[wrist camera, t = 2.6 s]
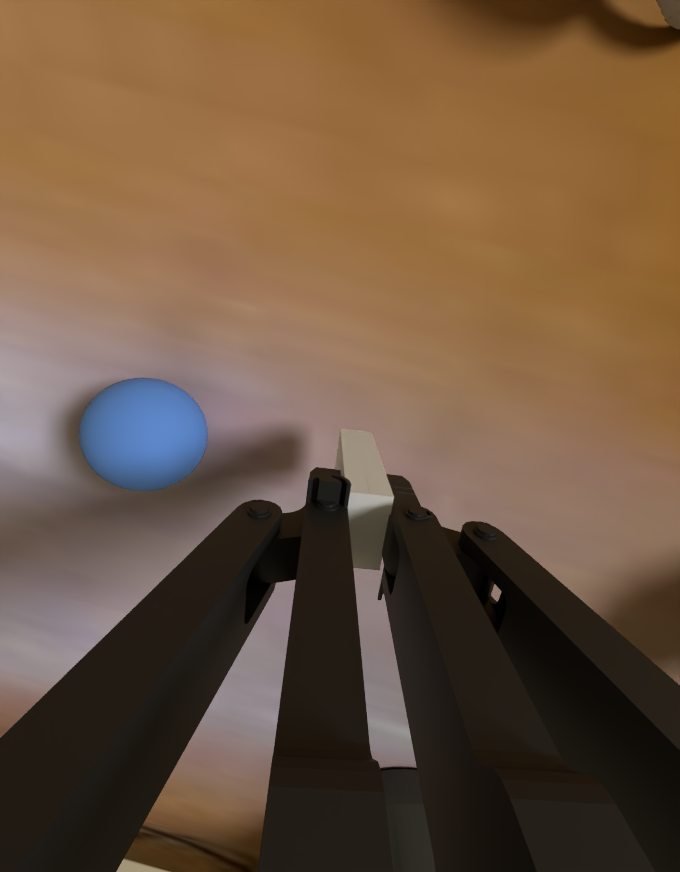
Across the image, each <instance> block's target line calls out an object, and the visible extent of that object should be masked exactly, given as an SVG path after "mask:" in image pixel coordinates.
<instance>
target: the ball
mask: <svg viewBox="0 0 680 872" xmlns="http://www.w3.org/2000/svg"><path fill="white" fill-rule="evenodd" d="M207 437H208V435H207V425H206V420H205V417H204V415H203V413H202V410H201V409H200V407H199V406H198V404H197V403H196V402H195V400H194V399H193V398H192V397H191V396H190V395H189V394H188V393H186V392H185V391H184V390H182V389H181V388H179V387H177V386H175V385H173V384H171V383H169V382H166V381H162V380H158V379H152V378H134V379H128V380H124V381H121V382H118V383H115V384H113V385H111V386H109V387H107V388H106V389H104V390H103V391H102V392H100V393H99V394H98V395H97V396H96V397H95V398H94V399H93V400H92V401H91V402H90V404H89V405H88V406H87V408H86V409H85V412H84V414H83V416H82V419H81V422H80V428H79V441H80V447H81V450H82V453H83V455H84V457H85V459H86V461H87V462H88V464H89V465H90V467H91V468H92V469H93V470H94V471H95V472H96V473H97V474H98V475H99V476H100V477H102V478H103V479H105V480H106V481H108V482H110V483H111V484H113V485H116V486H118V487H121V488H125V489H129V490H135V491H152V490H158V489H162V488H165V487H168V486H171V485H173V484H175V483H177V482H179V481H181V480H182V479H184V478H185V477H186V476H187V475H189V474H190V473H191V472H192V471H193V470H194V469H195V467H196V466H197V465H198V463H199V462H200V460H201V458H202V457H203V454H204V452H205V449H206V445H207Z"/></svg>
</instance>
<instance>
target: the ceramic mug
mask: <svg viewBox="0 0 680 872" xmlns="http://www.w3.org/2000/svg"><path fill="white" fill-rule="evenodd" d="M656 1H657V3H658V5H659V7H660V8H661V12H662V14H663V15H664V17H665V21H666V22H667V23H668V24H669V25H670V26H672V27H673V28H676V29H678V30H680V0H656Z"/></svg>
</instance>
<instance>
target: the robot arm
mask: <svg viewBox="0 0 680 872" xmlns="http://www.w3.org/2000/svg"><path fill="white" fill-rule="evenodd" d="M382 557H383V562H384V569H383V574H382V579H381V584H380V589H379V593H378V600H381V598H382V595H383V594H384V595H385V601H386V606H387V611H388V617H389V622H390V627H391V633H392V638H393V643H394V649H395V654H396V659H397V665H398V670H399V675H400V680H401V686H402V691H403V696H404V702H405V707H406V712H407V718H408V723H409V728H410V734H411V739H412V744H413V750H414V755H415V760H416V766H417V770H411V769H394V770H384V771H381V770H380V767H379V764H378V762H377V761H376V760H374V759H372V756H371V752H370V744H369V734H368V723H367V712H366V701H365V691H364V680H363V669H362V658H361V647H360V636H359V625H358V615H357V604H356V593H355V582H354V571H353V568H363V569H373V570H380V565H381V560H382ZM290 580H296V583H295V591H294V599H293V606H292V614H291V622H290V630H289V637H288V645H287V653H286V661H285V668H284V676H283V684H282V692H281V699H280V707H279V715H278V723H277V730H276V738H275V746H274V753H273V758H272V765H271V773H270V780H269V788H268V795H267V803H266V811H265V818H264V826H263V834H262V841H261V849H260V857H259V864H258V872H680V685H679V684H677V683H676V682H675V681H674V680H673V679H672V678H670V677H669V676H668V675H667V674H666V673H665V672H663V671H662V670H661V669H660V668H659V667H658V666H657V665H655V664H654V663H653V662H652V661H651V660H650V659H648V658H647V657H646V656H645V655H644V654H643V653H642V652H640V651H639V650H638V649H637V648H636V647H635V646H633V645H632V644H631V643H630V642H629V641H628V640H627V639H625V638H624V637H623V636H622V635H621V634H620V633H618V632H617V631H616V630H615V629H614V628H613V627H612V626H610V625H609V624H608V623H607V622H606V621H605V620H603V619H602V618H601V617H600V616H599V615H598V614H597V613H595V612H594V611H593V610H592V609H591V608H590V607H588V606H587V605H586V604H585V603H584V602H583V601H582V600H580V599H579V598H578V597H577V596H576V595H575V594H573V593H572V592H571V591H570V590H569V589H568V588H567V587H565V586H564V585H563V584H562V583H561V582H560V581H558V580H557V579H556V578H555V577H554V576H553V575H552V574H550V573H549V572H548V571H547V570H546V569H545V568H543V567H542V566H541V565H540V564H539V563H538V562H537V561H535V560H534V559H533V558H532V557H531V556H530V555H528V554H527V553H526V552H525V551H524V550H523V549H522V548H520V547H519V546H518V545H517V544H516V543H515V542H513V541H512V540H511V539H510V538H509V537H508V536H507V535H505V534H504V533H503V532H502V531H500V530H499V529H497V528H496V527H493V526H491V525H490V524H488V523H484V522H475V521H471V522H466V523H465V524H464V525H463V527H462V530H461V532H458V531H455V530H451V529H447V528H445V527H442V526H441V525H440V523H439V521H438V519H437V517H436V516H435V515H434V514H433V512H431V511H429V510H428V509H426V508H423V507H421V505H420V503H419V501H418V499H417V497H416V495H415V493H414V491H413V490H412V486H411V484H410V482H409V481H407V480H406V479H405V478H404V477H403V476H397V475H389V474H386V472H385V469H384V467H383V464H382V461H381V458H380V455H379V452H378V449H377V447H376V444H375V441H374V438H373V435H372V432H368V431H359V430H351V429H343V428H341V429H340V436H339V443H338V450H337V458H336V465H335V469H327V468H318V467H316V468H315V469H313V470H312V471H311V472H310V478H309V480H308V489H307V497H306V504H305V506H304V507H303V508H302V509H300V510H298V511H295V512H290V513H282V510H281V508H280V507H279V506H278V505H277V504H275V503H272V502H270V501H264V500H252V501H248V502H245V503H243V504H241V505H240V506H238V507H237V508H236V509H235V510H234V511H233V512H232V513H231V514H230V515H229V516H228V517H227V518H226V519H225V520H224V521H223V522H222V523H221V524H220V525H219V526H218V527H217V528H216V529H215V530H213V531H212V532H211V533H210V534H209V535H208V536H207V537H206V538H205V539H204V540H203V541H202V542H201V543H200V544H199V545H198V546H197V547H196V548H195V549H194V550H193V551H192V552H191V553H190V554H189V555H188V556H187V557H186V558H185V559H184V560H183V561H182V562H181V563H180V564H179V565H178V566H177V567H176V568H174V569H173V570H172V571H171V572H170V573H169V574H168V575H167V576H166V577H165V578H164V579H163V580H162V581H161V582H160V583H159V584H158V585H157V586H156V587H155V588H154V589H153V590H152V591H151V592H150V593H149V594H148V595H147V596H146V597H145V598H144V599H143V600H142V601H141V602H140V603H139V604H138V605H137V606H136V607H134V608H133V609H132V610H131V611H130V612H129V613H128V614H127V615H126V616H125V617H124V618H123V619H122V620H121V621H120V622H119V623H118V624H117V625H116V626H115V627H114V628H113V629H112V630H111V631H110V632H109V633H108V634H107V635H106V636H105V637H104V638H103V639H102V640H101V641H100V642H99V643H98V644H97V645H95V646H94V647H93V648H92V649H91V650H90V651H89V652H88V653H87V654H86V655H85V656H84V657H83V658H82V659H81V660H80V661H79V662H78V663H77V664H76V665H75V666H74V667H73V668H72V669H71V670H70V671H69V672H68V673H67V674H66V675H65V676H64V677H63V678H62V679H61V680H60V681H59V682H58V683H57V684H55V685H54V686H53V687H52V688H51V689H50V690H49V691H48V692H47V693H46V694H45V695H44V696H43V697H42V698H41V699H40V700H39V701H38V702H37V703H36V704H35V705H34V706H33V707H32V708H31V709H30V710H29V711H28V712H27V713H26V714H25V715H24V716H23V717H22V718H21V719H20V720H19V721H18V722H16V723H15V724H14V725H13V726H12V727H11V728H10V729H9V730H8V731H7V732H6V733H5V734H4V735H3V736H2V737H1V738H0V872H116V871H117V869H118V867H119V865H120V864H121V862H122V860H123V859H124V857H125V855H126V853H127V851H128V850H129V848H130V846H131V844H132V842H133V841H134V839H135V837H136V835H137V834H138V832H139V830H140V828H141V826H142V825H143V823H144V821H145V819H146V818H147V816H148V814H149V812H150V810H151V809H152V807H153V805H154V803H155V801H156V800H157V798H158V796H159V794H160V793H161V791H162V789H163V787H164V785H165V784H166V782H167V780H168V778H169V777H170V775H171V773H172V771H173V769H174V768H175V766H176V764H177V762H178V760H179V759H180V757H181V755H182V753H183V752H184V750H185V748H186V746H187V744H188V743H189V741H190V739H191V737H192V735H193V734H194V732H195V730H196V728H197V727H198V725H199V723H200V721H201V719H202V718H203V716H204V714H205V712H206V711H207V709H208V707H209V705H210V703H211V702H212V700H213V698H214V696H215V694H216V693H217V691H218V689H219V687H220V686H221V684H222V682H223V680H224V678H225V677H226V675H227V673H228V671H229V669H230V668H231V666H232V664H233V662H234V661H235V659H236V657H237V655H238V653H239V652H240V650H241V648H242V646H243V645H244V643H245V641H246V639H247V637H248V636H249V634H250V632H251V630H252V628H253V627H254V625H255V623H256V621H257V620H258V618H259V616H260V614H261V612H262V611H263V609H264V607H265V605H266V603H267V602H268V600H269V598H270V596H271V595H272V593H273V591H274V588H275V584H276V583H277V582H283V581H290ZM494 583H495V584H496V586H497V587H498V588H499V589H500V590H501V591H502V592H501V595H500V598H499V600H498V602H497V601H496V600H494V598H493V597H492V596H491V593H492V590H493V586H494Z"/></svg>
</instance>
